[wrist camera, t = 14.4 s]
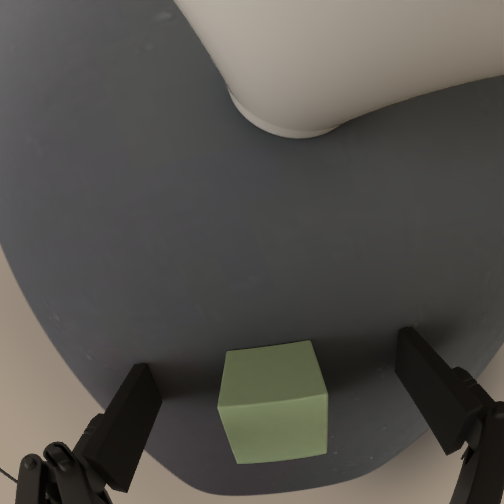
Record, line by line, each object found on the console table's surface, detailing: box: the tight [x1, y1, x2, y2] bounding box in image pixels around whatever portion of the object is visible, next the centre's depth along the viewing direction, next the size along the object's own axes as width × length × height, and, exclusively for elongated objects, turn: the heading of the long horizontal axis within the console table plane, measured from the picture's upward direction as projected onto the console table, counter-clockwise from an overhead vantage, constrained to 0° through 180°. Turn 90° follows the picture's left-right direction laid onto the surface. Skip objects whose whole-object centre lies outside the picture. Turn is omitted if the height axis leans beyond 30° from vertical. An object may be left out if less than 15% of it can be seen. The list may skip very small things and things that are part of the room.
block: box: [217, 340, 328, 464], centre depth 11 cm, size 4×4×4 cm
